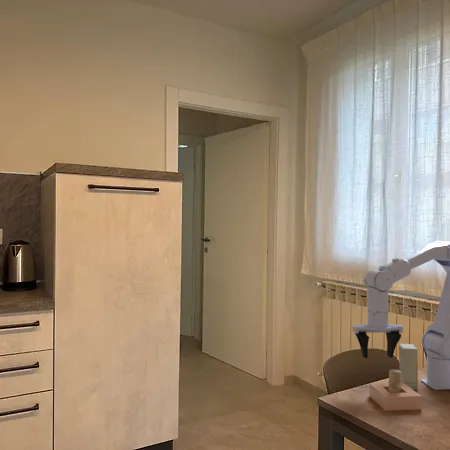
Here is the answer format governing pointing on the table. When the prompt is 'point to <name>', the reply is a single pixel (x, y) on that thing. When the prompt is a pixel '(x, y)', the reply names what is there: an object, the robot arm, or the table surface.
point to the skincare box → (408, 365)
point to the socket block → (395, 397)
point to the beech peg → (394, 381)
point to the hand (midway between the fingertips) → (377, 356)
